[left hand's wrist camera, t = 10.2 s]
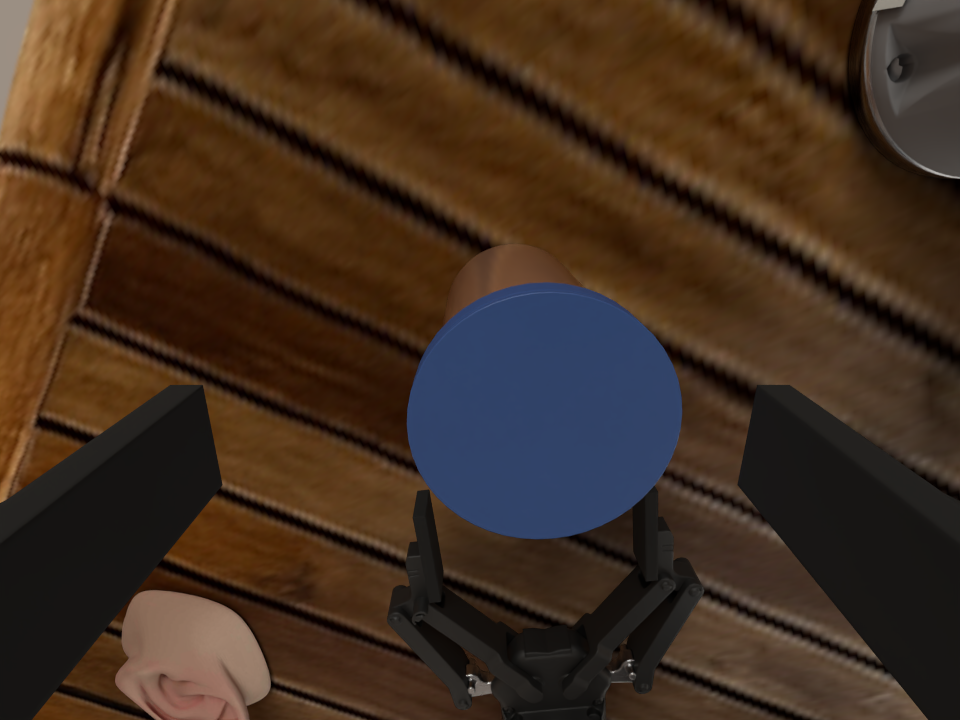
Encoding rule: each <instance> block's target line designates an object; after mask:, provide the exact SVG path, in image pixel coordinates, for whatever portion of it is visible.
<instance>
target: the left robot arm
mask: <svg viewBox="0 0 960 720" xmlns="http://www.w3.org/2000/svg"><path fill="white" fill-rule="evenodd" d="M849 84H850V91H851V98H852V102H853V106H854V110H855V112H856V115H857V118H858V121H859V123H860V125H861V127H862V129H863V131H864V133H865V134H866V136H867V137H868V139H869V140H870V142H871V143H872V144H873V145H874V146H875V148H876V149H877V150H878V151H879V152H880V153H881V154H882V155H883V156H885V157H886V158H887V159H888V160H890V161H891V162H892V163H894V164H895V165H897V166H899V167H901V168H903V169H905V170H907V171H909V172H912V173H915V174H918V175H922V176H926V177H932V178H940V179H960V0H862V2H861V5H860V7H859V11H858V14H857V17H856V20H855V24H854V29H853V33H852V38H851V45H850V53H849ZM221 486H222V480H221V475H220V470H219V465H218V460H217V455H216V450H215V445H214V440H213V435H212V430H211V424H210V419H209V414H208V409H207V404H206V399H205V394H204V389H203V385H170V386H168V387H167V388H166V389H164V390H163V391H161V392H160V393H158V394H157V395H156V396H154V397H153V398H151V399H150V400H148V401H147V402H146V403H144V404H143V405H141V406H140V407H138V408H137V409H136V410H134V411H133V412H131V413H130V414H128V415H127V416H126V417H124V418H123V419H121V420H120V421H119V422H117V423H116V424H114V425H113V426H111V427H110V428H109V429H107V430H106V431H104V432H103V433H101V434H100V435H99V436H97V437H96V438H94V439H93V440H91V441H90V442H89V443H87V444H86V445H84V446H83V447H81V448H80V449H79V450H77V451H76V452H74V453H73V454H72V455H70V456H69V457H67V458H66V459H64V460H63V461H62V462H60V463H59V464H57V465H56V466H54V467H53V468H52V469H50V470H49V471H47V472H46V473H44V474H43V475H42V476H40V477H39V478H37V479H36V480H34V481H33V482H32V483H30V484H29V485H27V486H26V487H24V488H23V489H22V490H20V491H19V492H17V493H16V494H15V495H13V496H12V497H10V498H9V499H7V500H6V501H4V502H1V503H0V720H32V719H33V718H34V716H35V715H36V714H37V713H38V711H39V710H40V709H41V708H42V706H43V705H44V704H45V703H46V702H47V700H48V699H49V698H50V697H51V695H52V694H53V693H54V692H55V690H56V689H57V688H58V687H59V686H60V684H61V683H62V682H63V681H64V679H65V678H66V677H67V676H68V674H69V673H70V672H71V671H72V670H73V668H74V667H75V666H76V665H77V663H78V662H79V661H80V660H81V658H82V657H83V656H84V655H85V654H86V652H87V651H88V650H89V649H90V647H91V646H92V645H93V644H94V642H95V641H96V640H97V639H98V638H99V636H100V635H101V634H102V633H103V631H104V630H105V629H106V628H107V626H108V625H109V624H110V623H111V621H112V620H113V619H114V618H115V617H116V615H117V614H118V613H119V612H120V610H121V609H122V608H123V607H124V605H125V604H126V603H127V602H128V601H129V599H130V598H131V597H132V596H133V594H134V593H135V592H136V591H137V589H138V588H139V587H140V586H141V585H142V583H143V582H144V581H145V580H146V578H147V577H148V576H149V575H150V573H151V572H152V571H153V570H154V569H155V567H156V566H157V565H158V564H159V562H160V561H161V560H162V559H163V557H164V556H165V555H166V554H167V553H168V551H169V550H170V549H171V548H172V546H173V545H174V544H175V543H176V541H177V540H178V539H179V538H180V537H181V535H182V534H183V533H184V532H185V530H186V529H187V528H188V527H189V525H190V524H191V523H192V522H193V521H194V519H195V518H196V517H197V516H198V514H199V513H200V512H201V511H202V509H203V508H204V507H205V506H206V505H207V503H208V502H209V501H210V500H211V498H212V497H213V496H214V495H215V493H216V492H217V491H218V490H219V489H220V487H221ZM738 486H739V487H740V489H741V490H742V491H743V492H744V493H745V495H746V496H747V497H748V498H749V500H750V501H751V502H752V503H753V505H754V506H755V507H756V508H757V509H758V511H759V512H760V513H761V514H762V516H763V517H764V518H765V519H766V521H767V522H768V523H769V524H770V525H771V527H772V528H773V529H774V530H775V532H776V533H777V534H778V535H779V537H780V538H781V539H782V540H783V541H784V543H785V544H786V545H787V546H788V548H789V549H790V550H791V551H792V553H793V554H794V555H795V556H796V557H797V559H798V560H799V561H800V562H801V564H802V565H803V566H804V567H805V569H806V570H807V571H808V572H809V573H810V575H811V576H812V577H813V578H814V580H815V581H816V582H817V583H818V585H819V586H820V587H821V588H822V589H823V591H824V592H825V593H826V594H827V596H828V597H829V598H830V599H831V601H832V602H833V603H834V604H835V605H836V607H837V608H838V609H839V610H840V612H841V613H842V614H843V615H844V617H845V618H846V619H847V620H848V621H849V623H850V624H851V625H852V626H853V628H854V629H855V630H856V631H857V633H858V634H859V635H860V636H861V638H862V639H863V640H864V641H865V642H866V644H867V645H868V646H869V647H870V649H871V650H872V651H873V652H874V654H875V655H876V656H877V657H878V658H879V660H880V661H881V662H882V663H883V665H884V666H885V667H886V668H887V670H888V671H889V672H890V673H891V674H892V676H893V677H894V678H895V679H896V681H897V682H898V683H899V684H900V686H901V687H902V688H903V689H904V690H905V692H906V693H907V694H908V695H909V697H910V698H911V699H912V700H913V702H914V703H915V704H916V705H917V706H918V708H919V709H920V710H921V711H922V713H923V714H924V715H925V716H926V718H927V719H928V720H960V501H959V500H957V499H955V498H953V497H951V496H949V495H947V494H944V493H943V492H941V491H940V490H938V489H937V488H936V487H934V486H933V485H931V484H930V483H928V482H927V481H926V480H924V479H923V478H921V477H920V476H918V475H917V474H916V473H914V472H913V471H911V470H910V469H908V468H907V467H906V466H904V465H903V464H901V463H900V462H898V461H897V460H896V459H894V458H893V457H891V456H890V455H888V454H887V453H886V452H884V451H883V450H881V449H880V448H879V447H877V446H876V445H874V444H873V443H871V442H870V441H869V440H867V439H866V438H864V437H863V436H861V435H860V434H859V433H857V432H856V431H854V430H853V429H851V428H850V427H849V426H847V425H846V424H844V423H843V422H841V421H840V420H839V419H837V418H836V417H834V416H833V415H832V414H830V413H829V412H827V411H826V410H824V409H823V408H822V407H820V406H819V405H817V404H816V403H814V402H813V401H812V400H810V399H809V398H807V397H806V396H804V395H803V394H802V393H800V392H799V391H797V390H796V389H794V388H793V387H792V386H790V385H757V389H756V394H755V399H754V404H753V409H752V414H751V419H750V424H749V430H748V435H747V440H746V445H745V450H744V455H743V460H742V465H741V470H740V475H739V480H738Z"/></svg>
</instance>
